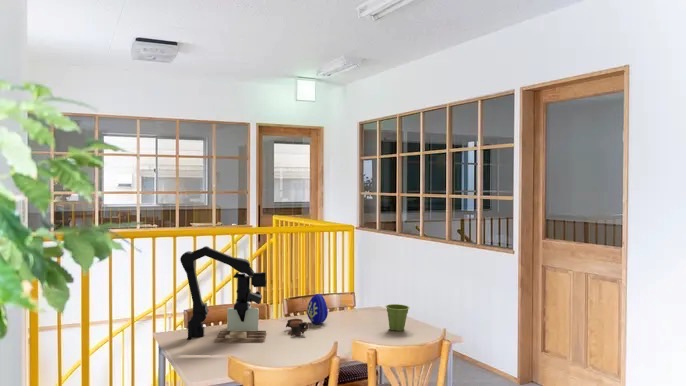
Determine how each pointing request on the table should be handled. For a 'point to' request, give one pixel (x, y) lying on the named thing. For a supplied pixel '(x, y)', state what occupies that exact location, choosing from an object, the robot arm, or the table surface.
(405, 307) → the plant pot
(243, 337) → the lower pine offcut
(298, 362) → the table surface
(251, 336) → the walnut rack
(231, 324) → the sage board
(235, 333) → the upper pine offcut
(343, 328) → the table surface
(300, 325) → the pottery mug
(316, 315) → the ornament
